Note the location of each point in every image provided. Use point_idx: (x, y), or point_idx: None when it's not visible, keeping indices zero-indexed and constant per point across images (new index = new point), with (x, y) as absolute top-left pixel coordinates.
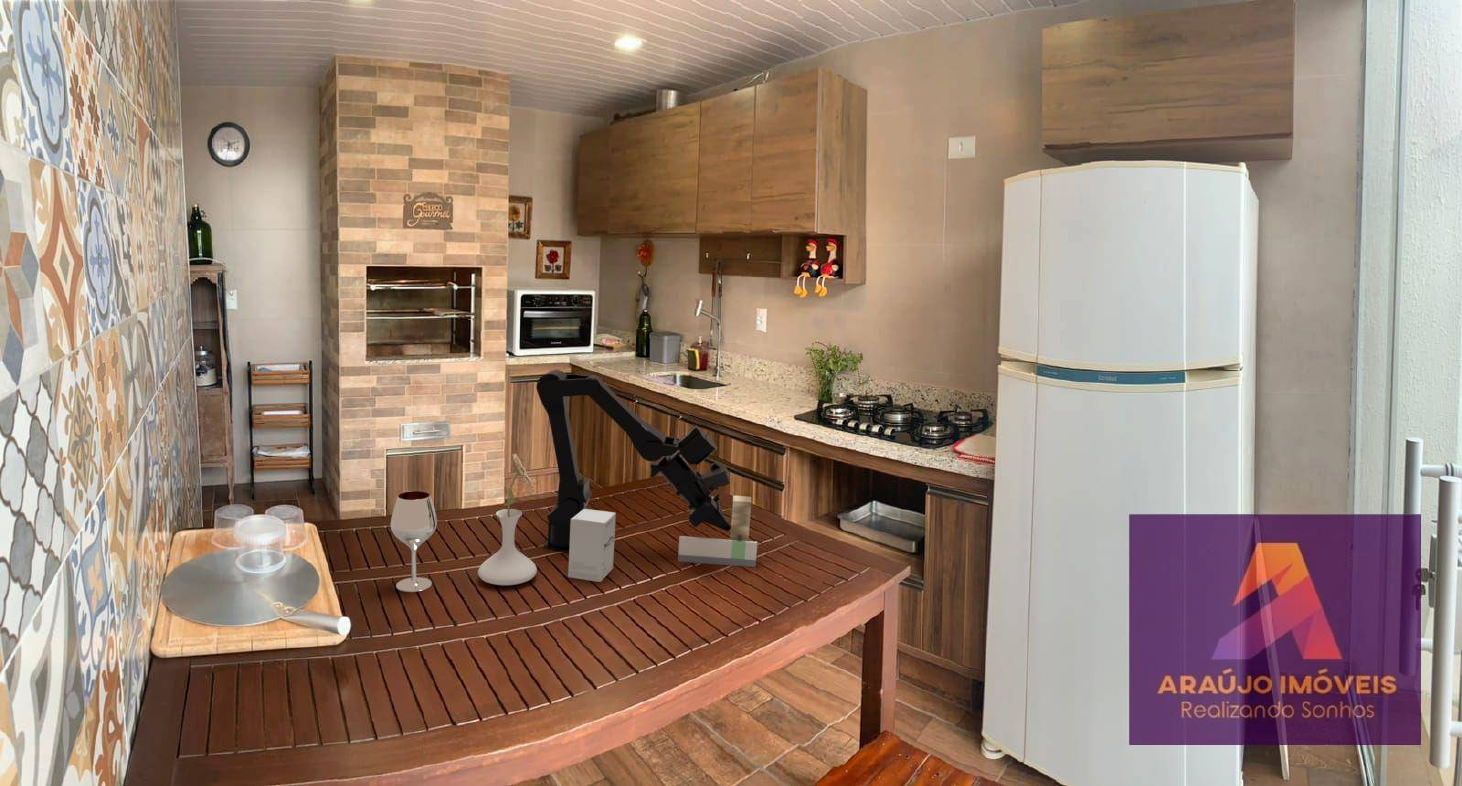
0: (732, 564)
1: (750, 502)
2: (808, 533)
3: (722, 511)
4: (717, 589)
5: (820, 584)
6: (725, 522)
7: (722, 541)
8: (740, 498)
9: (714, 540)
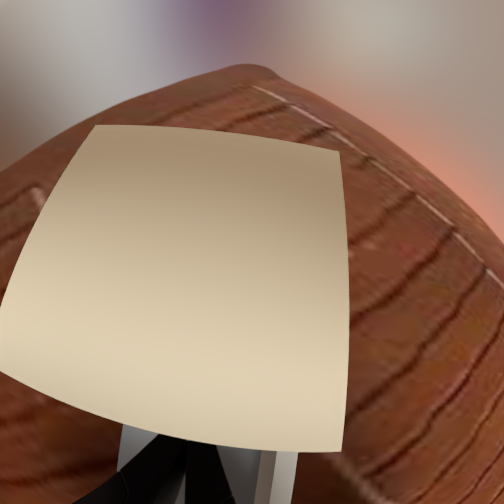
0: None
1: (336, 161)
2: (53, 141)
3: (110, 486)
4: (456, 436)
5: (370, 176)
6: (221, 464)
7: (295, 462)
8: (147, 268)
9: (290, 502)
